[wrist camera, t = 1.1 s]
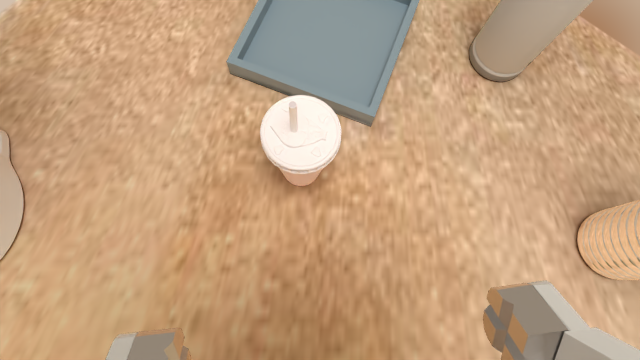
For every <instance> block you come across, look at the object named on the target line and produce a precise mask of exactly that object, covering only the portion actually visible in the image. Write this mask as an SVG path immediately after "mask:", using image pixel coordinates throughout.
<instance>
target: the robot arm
mask: <svg viewBox="0 0 640 360" xmlns="http://www.w3.org/2000/svg"><path fill="white" fill-rule="evenodd" d="M22 214H23V192H22V187H21V184H20V181H19V178H18V176H17V174H16V172H15V170H14V169H13V167H12V165H11V162H10V159H9V138H8V135H7V134H6V132H4V131H3V130H0V260H1V258H2V257H3V256H4V255H5V253H6V252H7V251H8V249H9V247H10V246H11V244H12V242H13V241H14V239H15V237H16V234H17V232H18V229H19V226H20V223H21V219H22ZM487 300H488V301H489V303H490V305H489V306H488V307H487V308H486V309H485V310H484V315H483V324H484V330H485V333H486V335H487V338H488V340H489V341H490V343H491V345H492V346H493V347H494V348H496V349H497V350H499V351H500V352H502V356H501V360H640V350H638V349H636V348H635V347H633V346H631V345H629V344H627V343H625V342H623V341H621V340H619V339H617V338H615V337H613V336H612V335H610V334H608V333H606V332H604V331H602V330H600V329H598V328H590V327H589V326H588V325H587V324H586V322H585V321H584V320H583V319H582V318H581V317H580V316H579V314H578V313H577V312H576V311H575V310H574V309H573V308H572V307H571V305H570V304H569V303H568V302H567V301H566V300H565V299H564V297H563V296H562V295H561V294H560V293H559V292H558V291H557V289H556V288H555V287H554V286H553V285H552V284H551V283H550V282H548V281H538V282H531V283H522V284H515V285H507V286H500V287H493V288H490V290H489V291H488V294H487ZM184 338H185V337H184V334H183V332H182V329H181V328H173V329H163V330H153V331H143V332H136V333H127V334H119V335H118V336H117V337H116V338H115V339H114V340H113V343H112V345H111V347H110V350H109V352H108V355H107V357H106V359H105V360H191V355H190V352H189V349H188V348H186V347H185V346H183V342H184Z"/></svg>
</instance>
